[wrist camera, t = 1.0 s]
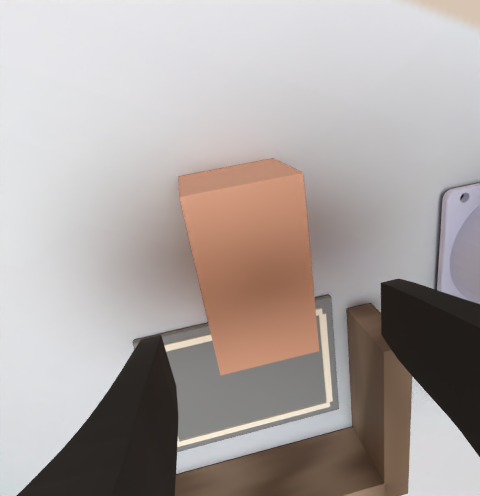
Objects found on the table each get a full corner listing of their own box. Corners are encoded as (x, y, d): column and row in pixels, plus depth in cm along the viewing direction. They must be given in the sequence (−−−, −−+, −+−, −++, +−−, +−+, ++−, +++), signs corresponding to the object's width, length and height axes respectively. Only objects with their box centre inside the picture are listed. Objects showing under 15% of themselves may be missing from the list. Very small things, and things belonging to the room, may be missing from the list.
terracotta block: (272, 157, 17) (303, 172, 13) (289, 301, 20) (319, 351, 16) (178, 175, 16) (179, 197, 12) (211, 319, 19) (220, 375, 15)
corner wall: (371, 303, 21) (413, 344, 17) (373, 436, 25) (407, 493, 21) (111, 364, 19) (96, 424, 16) (160, 495, 23) (157, 567, 20)
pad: (329, 294, 20) (331, 298, 20) (336, 405, 23) (339, 410, 23) (133, 340, 19) (132, 344, 19) (169, 449, 22) (169, 455, 22)
